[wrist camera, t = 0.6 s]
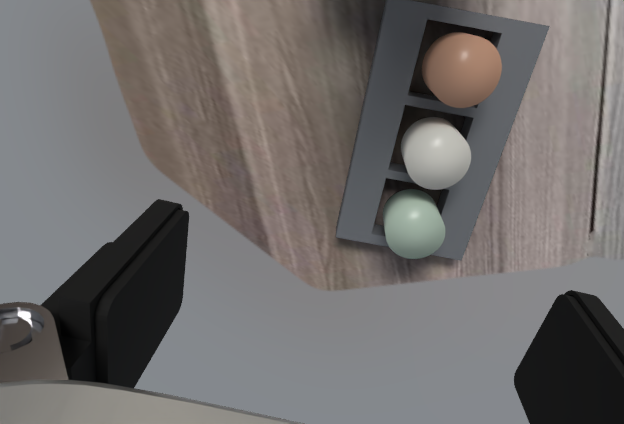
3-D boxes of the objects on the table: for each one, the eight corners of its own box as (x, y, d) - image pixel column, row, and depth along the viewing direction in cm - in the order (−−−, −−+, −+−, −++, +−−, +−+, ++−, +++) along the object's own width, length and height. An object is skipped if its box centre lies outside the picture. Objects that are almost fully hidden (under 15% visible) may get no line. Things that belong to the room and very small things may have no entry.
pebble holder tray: (538, 24, 40) (549, 26, 37) (456, 248, 50) (461, 260, 48) (386, -4, 40) (388, -4, 37) (336, 226, 50) (335, 237, 48)
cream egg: (467, 122, 41) (480, 135, 37) (449, 177, 44) (459, 194, 40) (409, 111, 41) (415, 123, 37) (394, 167, 44) (398, 183, 40)
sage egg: (444, 194, 44) (453, 213, 41) (428, 241, 47) (435, 263, 43) (389, 184, 44) (393, 202, 41) (377, 232, 47) (379, 253, 43)
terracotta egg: (495, 38, 38) (512, 42, 34) (474, 102, 40) (487, 113, 36) (431, 26, 38) (441, 29, 34) (414, 91, 40) (421, 101, 36)
